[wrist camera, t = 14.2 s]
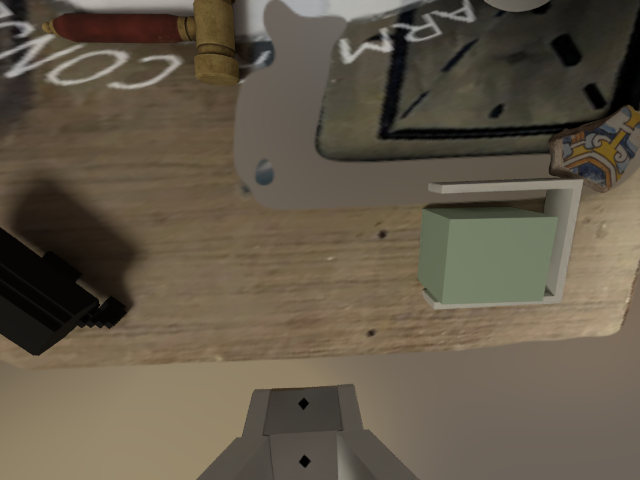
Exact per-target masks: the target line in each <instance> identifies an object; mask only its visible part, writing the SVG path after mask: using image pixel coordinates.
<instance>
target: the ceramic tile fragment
mask: <svg viewBox="0 0 640 480" xmlns="http://www.w3.org/2000/svg"><path fill="white" fill-rule="evenodd" d="M639 147H640V111H636V110H634V109H633V108H632V106H631V105H625V106H623V107H621V108H620V109H619V110H618V111H617V112H615V113H614V114H612V115H610V116H608V117H606V118H604V119H601V120H598V121H594V122H590V123H587V124H583V125H581V126H580V127H578V128H574V129H570V130H569V129H567V128H566V129H564V130H563V131H562V132H560V133H558V134H554V135H553V138H552V139H551V140H550V141H549V149H550V155H551V162H550V166H549V174H550V175H553V176H558V177H561V178H569V179H584V180H583V185H585V186H588V187H590V188H592V189H593V190H595V191H597V192H600V193H605V192H606V191H608V190H609V189H610V187H612V186H613V185H615V183H616V182H617V180H618V179H620V178H621V176H622V175H623V173H624V171H625V170H626V168H627V166H628V164H629V162H630V161H631V160H632V159H633V157H634V156H635V153H636V151H637V150H638V148H639Z"/></svg>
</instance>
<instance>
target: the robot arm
mask: <svg viewBox="0 0 640 480" xmlns="http://www.w3.org/2000/svg"><path fill="white" fill-rule="evenodd" d="M484 1H485V2H487V3H488V4H490V5H491V6H493V7H495V8H498V9H501V10H505V11H511V12H521V11H527V10H531V9H535V8H537V7H540V6H542V5H544V4H545V3H547V2H549V1H550V0H484ZM196 480H419V479H418V478H417V477H416V476H415V475H414V474H413V473H412V472H411V471H410V470H409V469H408V468H407V467H406V466H405V465H404V464H403V463H402V462H401V461H400V460H399V459H398V458H397V457H396V456H395V455H394V454H393V453H392V452H391V451H390V450H389V449H388V448H387V447H386V446H385V445H384V444H383V443H382V442H381V441H380V440H379V439H378V438H377V437H376V436H375V435H374V434H373V433H372V432H371V431H370V430H364V429H363V425H362V419H361V415H360V410H359V405H358V401H357V396H356V391H355V386H354V385H353V384H344V385H337V386H320V387H305V388H277V389H276V388H275V389H255V390H254V392H253V393H252V397H251V402H250V405H249V410H248V414H247V418H246V422H245V426H244V430H243V434H242V437H241V438H236V439H235V440H234V441H233V442H232V443H231V444H230V445H229V446H228V447H227V448H226V449H225V450H224V451H223V452H222V453H221V454H220V456H218V458H216V460H215V461H214V462H213V463H212V464H211V465H210V466H209V467H208V468H207V469H206V470H205V471H204V472H203V473H202V474H201V475H200V476H199V477H198V479H196Z"/></svg>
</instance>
